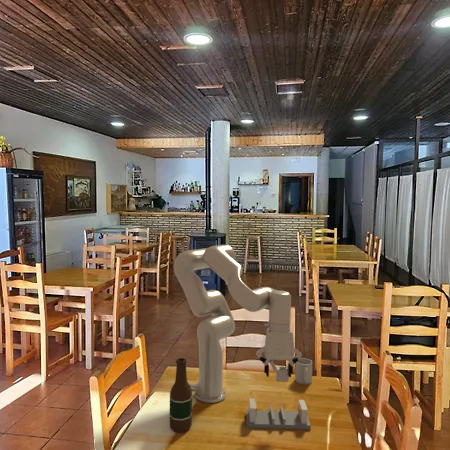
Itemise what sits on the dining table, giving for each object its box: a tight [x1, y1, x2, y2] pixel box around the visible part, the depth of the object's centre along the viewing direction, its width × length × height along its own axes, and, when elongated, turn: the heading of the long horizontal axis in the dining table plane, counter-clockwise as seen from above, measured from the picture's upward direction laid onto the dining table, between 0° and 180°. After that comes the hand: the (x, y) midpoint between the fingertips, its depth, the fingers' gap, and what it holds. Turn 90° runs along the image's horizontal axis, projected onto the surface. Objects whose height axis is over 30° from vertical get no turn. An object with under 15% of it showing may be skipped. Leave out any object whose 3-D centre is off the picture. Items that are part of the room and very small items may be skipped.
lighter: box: [269, 360, 290, 383], centre depth 144 cm, size 7×2×8 cm, turn 93°
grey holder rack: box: [245, 398, 312, 431], centre depth 145 cm, size 22×9×6 cm, turn 89°
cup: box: [294, 357, 313, 386], centre depth 176 cm, size 7×10×9 cm
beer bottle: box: [169, 357, 193, 434], centre depth 140 cm, size 8×8×24 cm
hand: (278, 374), depth 144 cm, fingers closed on lighter, 7 cm apart
